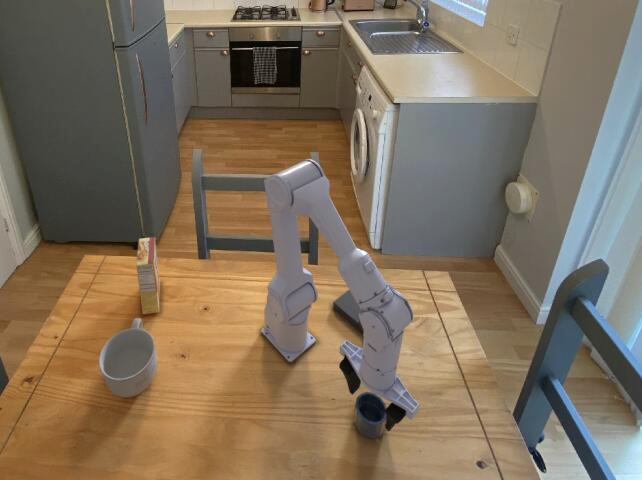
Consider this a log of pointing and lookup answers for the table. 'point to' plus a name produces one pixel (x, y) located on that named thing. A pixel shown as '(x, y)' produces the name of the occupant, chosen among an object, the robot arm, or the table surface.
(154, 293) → the candy box
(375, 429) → the cup
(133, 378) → the teacup
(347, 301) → the scale
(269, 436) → the table surface
